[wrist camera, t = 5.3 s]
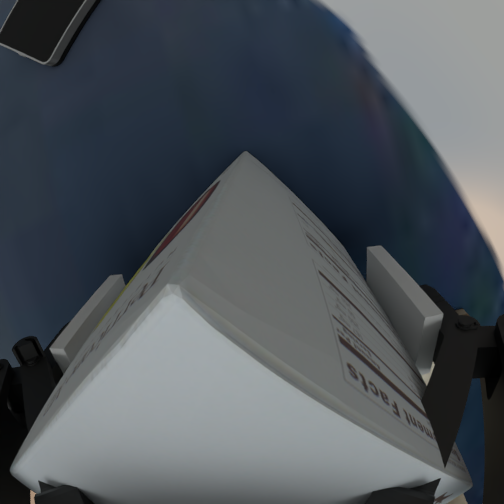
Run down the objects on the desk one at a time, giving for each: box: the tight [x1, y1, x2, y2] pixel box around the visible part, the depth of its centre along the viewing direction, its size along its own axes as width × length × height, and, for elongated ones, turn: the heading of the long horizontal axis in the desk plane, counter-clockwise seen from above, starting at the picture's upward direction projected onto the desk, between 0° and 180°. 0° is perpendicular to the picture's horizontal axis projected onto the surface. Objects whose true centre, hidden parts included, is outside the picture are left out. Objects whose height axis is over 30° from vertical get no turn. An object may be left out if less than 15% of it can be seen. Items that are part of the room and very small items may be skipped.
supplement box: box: [10, 151, 473, 504], centre depth 13 cm, size 10×9×17 cm
